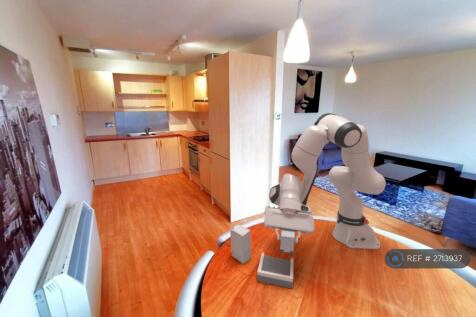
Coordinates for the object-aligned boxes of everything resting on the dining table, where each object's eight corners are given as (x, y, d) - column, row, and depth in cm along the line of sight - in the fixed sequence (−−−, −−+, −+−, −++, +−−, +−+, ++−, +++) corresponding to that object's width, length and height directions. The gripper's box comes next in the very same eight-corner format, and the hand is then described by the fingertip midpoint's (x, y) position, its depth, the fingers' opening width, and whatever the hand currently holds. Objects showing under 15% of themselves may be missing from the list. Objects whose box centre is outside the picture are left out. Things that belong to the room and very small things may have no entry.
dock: (292, 266, 95) (293, 258, 93) (292, 288, 83) (293, 279, 82) (261, 260, 98) (261, 252, 97) (257, 281, 87) (257, 271, 86)
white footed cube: (293, 247, 88) (294, 230, 86) (292, 256, 83) (294, 238, 81) (280, 245, 89) (281, 228, 87) (279, 254, 84) (281, 236, 82)
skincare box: (251, 258, 100) (252, 230, 96) (242, 264, 96) (242, 235, 92) (239, 249, 106) (239, 223, 102) (230, 255, 101) (229, 228, 98)
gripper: (265, 202, 91) (260, 235, 84) (315, 208, 86) (315, 244, 79) (265, 207, 96) (261, 238, 90) (313, 213, 91) (312, 247, 85)
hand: (287, 241), depth 84 cm, fingers closed on white footed cube, 5 cm apart
